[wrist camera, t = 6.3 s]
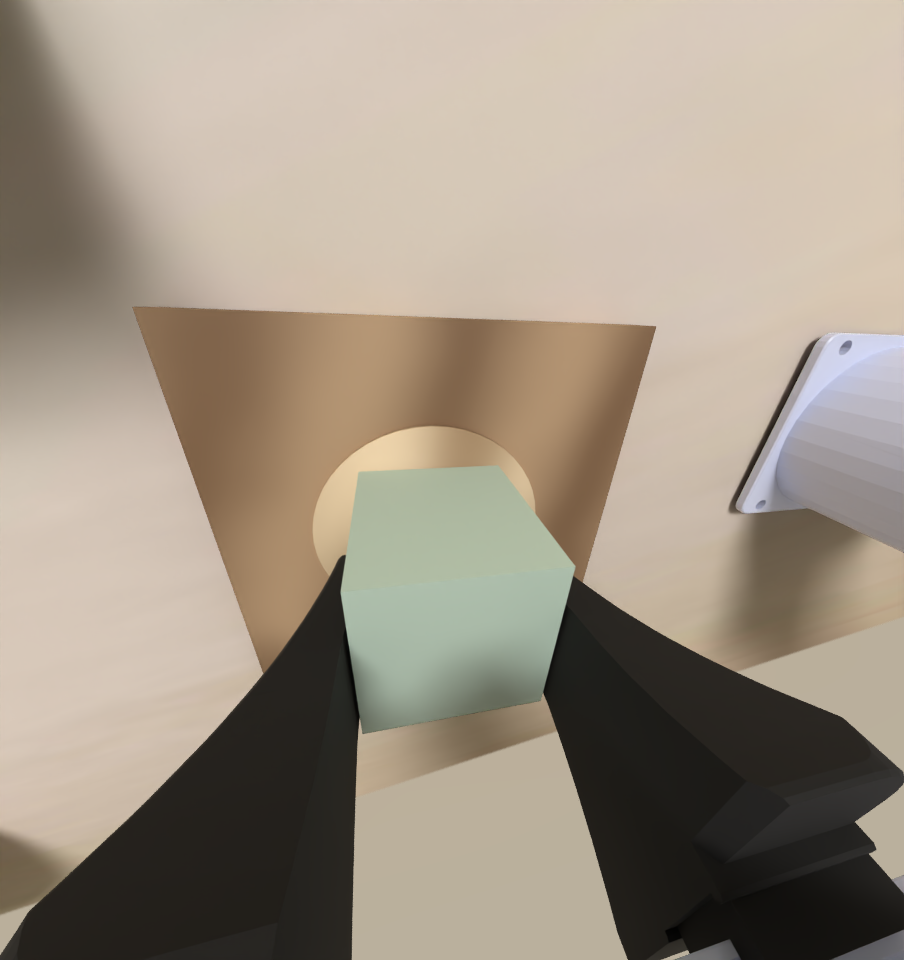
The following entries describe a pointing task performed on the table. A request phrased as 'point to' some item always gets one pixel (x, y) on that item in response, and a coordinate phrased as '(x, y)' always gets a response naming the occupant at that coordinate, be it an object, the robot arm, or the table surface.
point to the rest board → (381, 427)
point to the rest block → (448, 595)
